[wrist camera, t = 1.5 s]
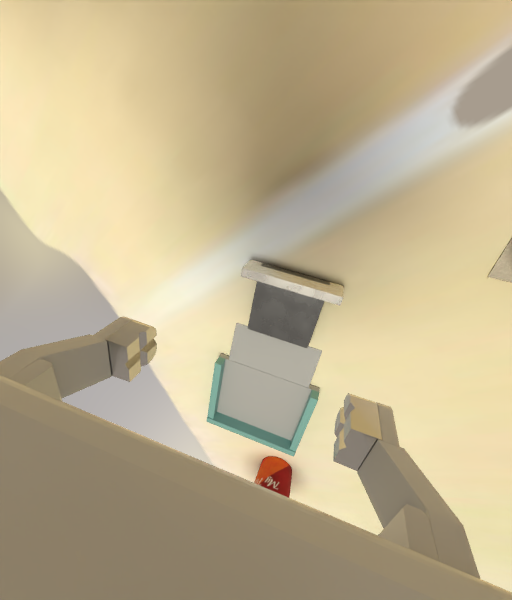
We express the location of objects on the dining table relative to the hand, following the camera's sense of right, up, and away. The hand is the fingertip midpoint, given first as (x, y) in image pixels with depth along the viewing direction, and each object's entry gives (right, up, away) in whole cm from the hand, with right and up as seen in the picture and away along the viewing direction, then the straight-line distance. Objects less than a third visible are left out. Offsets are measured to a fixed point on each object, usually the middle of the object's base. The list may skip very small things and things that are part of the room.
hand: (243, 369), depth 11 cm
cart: (+4, +2, +23) cm, 23 cm away
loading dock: (+2, -10, +31) cm, 33 cm away
